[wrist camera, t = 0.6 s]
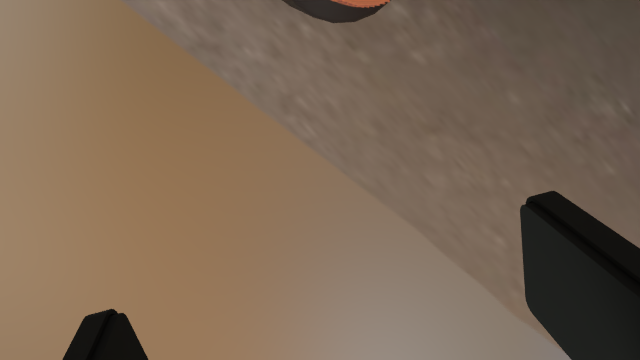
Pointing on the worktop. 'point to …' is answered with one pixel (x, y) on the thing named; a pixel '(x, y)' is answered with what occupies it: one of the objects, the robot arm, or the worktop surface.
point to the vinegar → (338, 9)
